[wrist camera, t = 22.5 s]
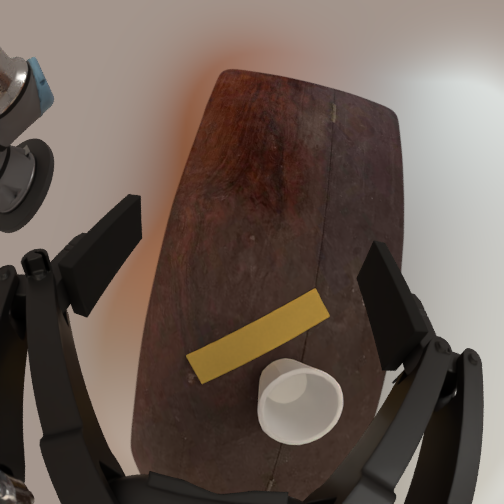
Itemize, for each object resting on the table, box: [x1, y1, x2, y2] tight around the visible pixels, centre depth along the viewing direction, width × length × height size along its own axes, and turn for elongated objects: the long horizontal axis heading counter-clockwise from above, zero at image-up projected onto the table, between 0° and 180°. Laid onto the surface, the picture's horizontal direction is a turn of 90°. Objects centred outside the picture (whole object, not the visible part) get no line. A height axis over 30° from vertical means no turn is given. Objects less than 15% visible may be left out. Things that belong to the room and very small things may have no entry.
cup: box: [257, 358, 343, 445], centre depth 33 cm, size 10×10×13 cm
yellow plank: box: [186, 288, 330, 384], centre depth 40 cm, size 22×5×1 cm, turn 118°
